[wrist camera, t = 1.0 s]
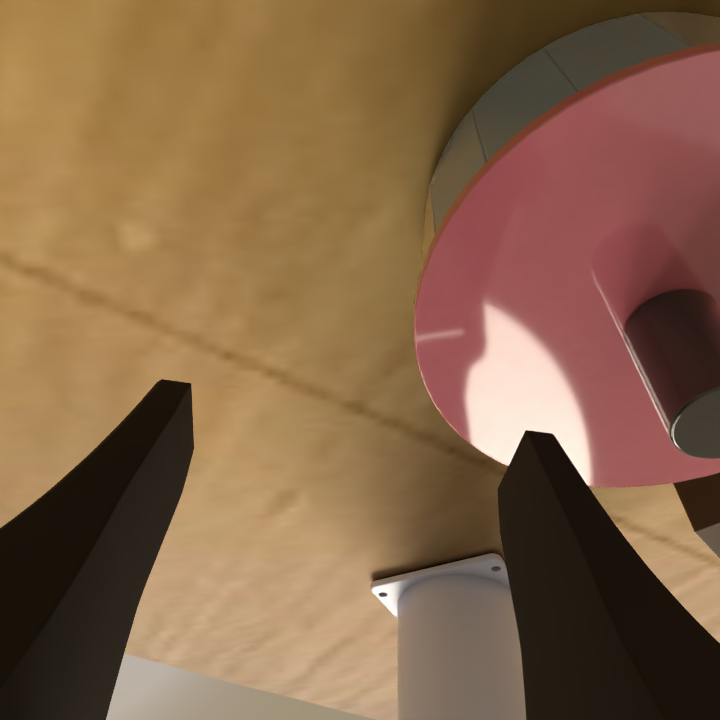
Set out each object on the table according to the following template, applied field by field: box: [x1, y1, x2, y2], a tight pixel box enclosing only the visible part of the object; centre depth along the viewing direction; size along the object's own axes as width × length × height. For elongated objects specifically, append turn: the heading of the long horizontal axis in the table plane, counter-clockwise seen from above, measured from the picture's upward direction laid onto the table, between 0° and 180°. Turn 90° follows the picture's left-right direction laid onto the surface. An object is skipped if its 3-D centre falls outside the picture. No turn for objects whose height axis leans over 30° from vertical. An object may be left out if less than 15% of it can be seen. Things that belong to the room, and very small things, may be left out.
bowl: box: [422, 12, 720, 265], centre depth 18 cm, size 13×13×6 cm
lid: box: [413, 42, 720, 488], centre depth 15 cm, size 14×14×5 cm
